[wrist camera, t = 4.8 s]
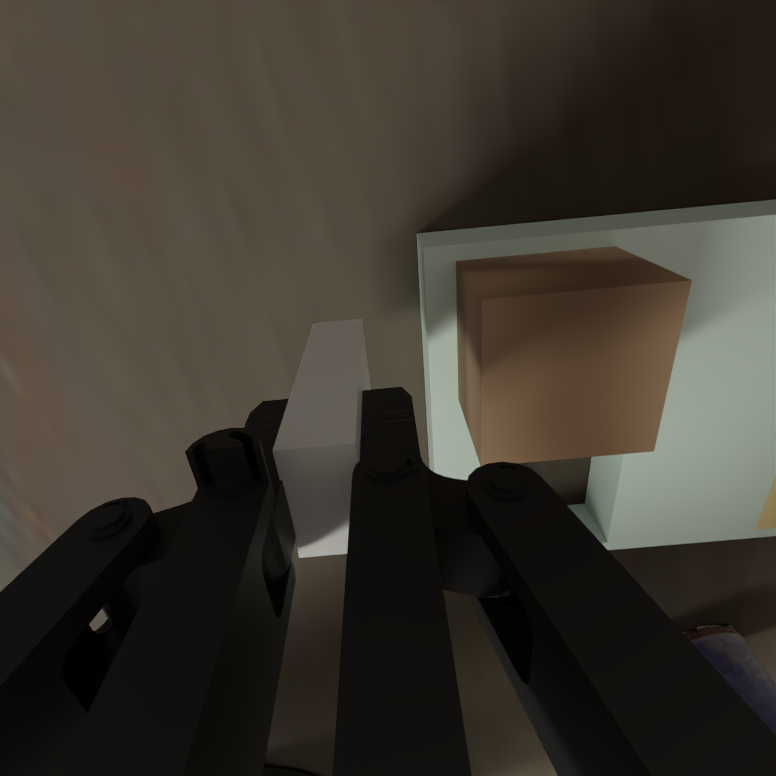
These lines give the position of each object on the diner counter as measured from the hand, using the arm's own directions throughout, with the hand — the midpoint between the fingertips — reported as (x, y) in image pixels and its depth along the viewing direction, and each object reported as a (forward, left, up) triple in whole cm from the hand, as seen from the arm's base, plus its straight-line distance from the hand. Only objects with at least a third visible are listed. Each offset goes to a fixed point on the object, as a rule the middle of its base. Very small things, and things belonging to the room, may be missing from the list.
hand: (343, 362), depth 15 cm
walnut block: (+6, 0, -1) cm, 6 cm away
